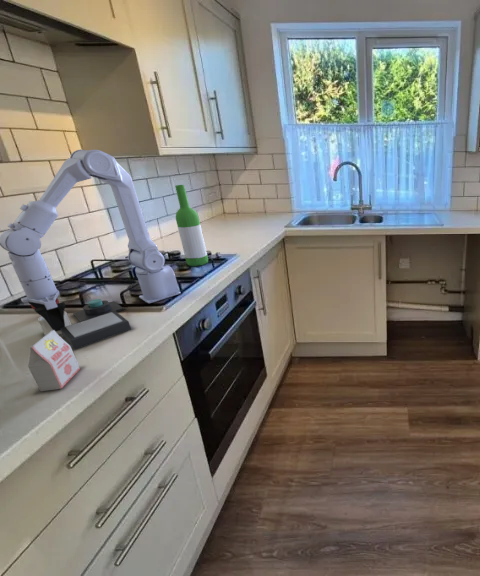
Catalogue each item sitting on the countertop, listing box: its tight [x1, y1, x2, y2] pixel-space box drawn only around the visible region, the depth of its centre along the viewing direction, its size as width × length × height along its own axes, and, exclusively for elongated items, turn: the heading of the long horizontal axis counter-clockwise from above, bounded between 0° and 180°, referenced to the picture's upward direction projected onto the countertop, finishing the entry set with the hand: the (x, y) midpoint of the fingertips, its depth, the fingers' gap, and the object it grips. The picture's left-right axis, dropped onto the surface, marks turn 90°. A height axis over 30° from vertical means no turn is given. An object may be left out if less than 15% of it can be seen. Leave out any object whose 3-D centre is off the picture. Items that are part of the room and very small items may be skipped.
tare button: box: [87, 298, 103, 308], centre depth 103 cm, size 3×3×2 cm
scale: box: [60, 311, 132, 350], centre depth 92 cm, size 12×10×3 cm
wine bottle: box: [174, 184, 209, 267], centre depth 136 cm, size 8×8×30 cm
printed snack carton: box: [27, 330, 81, 392], centre depth 73 cm, size 4×7×10 cm, turn 12°
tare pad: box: [72, 300, 125, 322], centre depth 103 cm, size 10×8×2 cm
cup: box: [37, 310, 72, 336], centre depth 93 cm, size 6×6×4 cm
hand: (56, 326), depth 94 cm, fingers closed on cup, 6 cm apart
